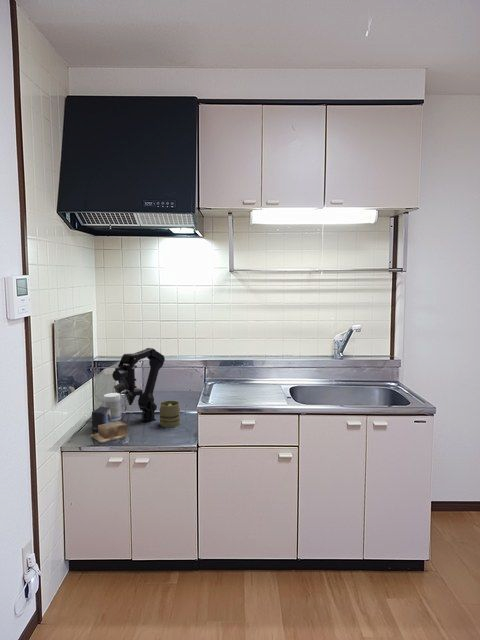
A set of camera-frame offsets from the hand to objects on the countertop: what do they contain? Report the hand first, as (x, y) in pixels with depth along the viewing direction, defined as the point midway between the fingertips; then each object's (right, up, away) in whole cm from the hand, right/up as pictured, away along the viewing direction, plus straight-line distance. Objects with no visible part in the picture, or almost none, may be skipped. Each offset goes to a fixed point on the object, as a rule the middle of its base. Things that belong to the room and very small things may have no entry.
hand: (130, 405), depth 259 cm
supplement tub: (-14, -12, +17) cm, 25 cm away
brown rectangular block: (-2, -11, -6) cm, 13 cm away
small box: (-16, -13, +2) cm, 21 cm away
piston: (+21, -12, +8) cm, 25 cm away
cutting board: (-9, -14, -11) cm, 20 cm away
